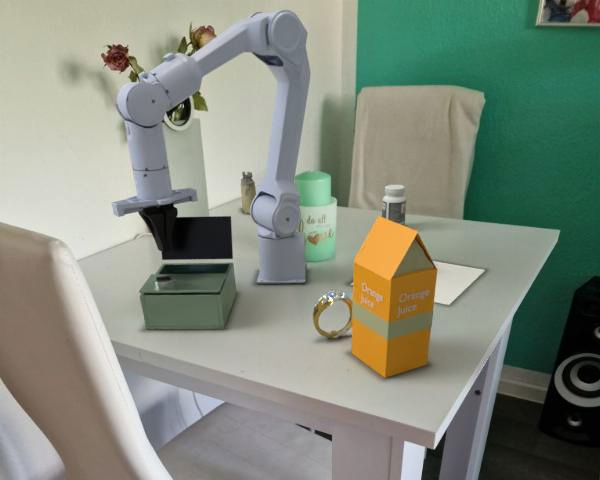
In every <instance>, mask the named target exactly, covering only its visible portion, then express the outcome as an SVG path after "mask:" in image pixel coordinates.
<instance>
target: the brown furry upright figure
mask: <svg viewBox="0 0 600 480" xmlns="http://www.w3.org/2000/svg"><path fill="white" fill-rule="evenodd" d="M241 175H242V178H241V179H240V194H241V206H242V212H244V213H245V214H249V215H250V206H251V203H252V201H253V199H254V197H255V195H256V192H257V187H256V185H255V183H256V182H255V181H254V179H253V172H252V171H251V172H250V171H247V172H246V171H242V172H241Z"/></svg>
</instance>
